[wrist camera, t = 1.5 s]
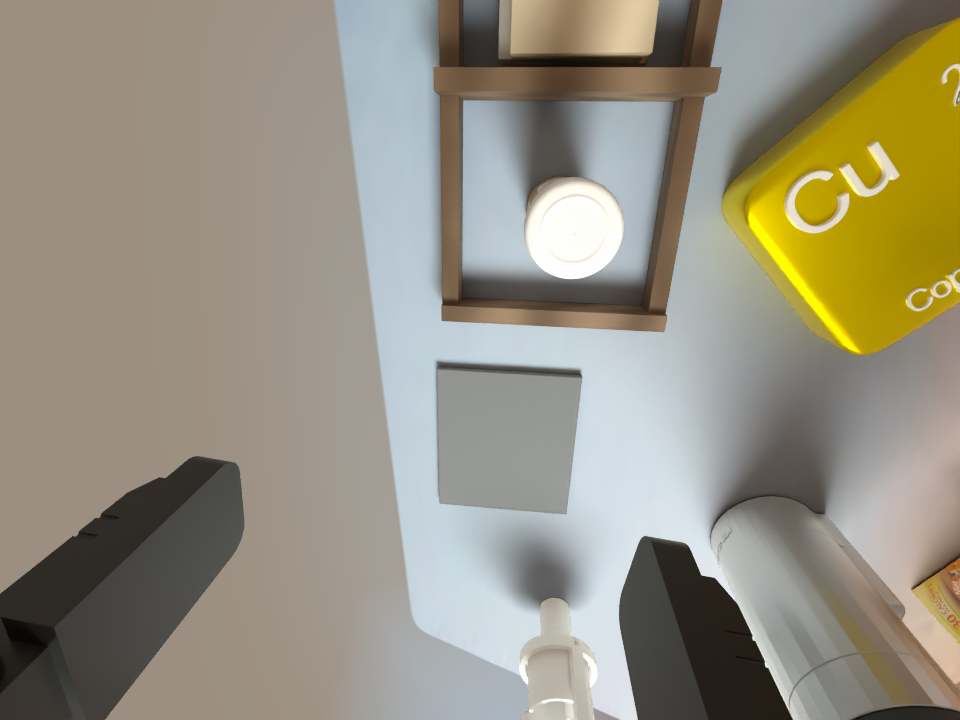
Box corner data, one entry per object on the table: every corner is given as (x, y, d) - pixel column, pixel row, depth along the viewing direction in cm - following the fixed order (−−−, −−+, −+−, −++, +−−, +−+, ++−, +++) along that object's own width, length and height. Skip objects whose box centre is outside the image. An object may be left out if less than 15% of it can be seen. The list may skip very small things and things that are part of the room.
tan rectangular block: (651, -17, 28) (671, -47, 24) (641, 67, 30) (657, 52, 26) (503, -13, 29) (498, -42, 25) (501, 68, 30) (496, 53, 27)
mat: (581, 375, 38) (582, 378, 37) (565, 509, 43) (566, 514, 43) (438, 366, 39) (437, 369, 38) (440, 499, 44) (439, 503, 44)
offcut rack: (721, -59, 27) (752, -96, 23) (655, 321, 36) (670, 339, 32) (444, -53, 28) (431, -87, 24) (447, 311, 37) (437, 327, 33)
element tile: (821, 346, 35) (862, 371, 31) (706, 199, 32) (734, 203, 28) (1037, 205, 30) (1123, 211, 26) (926, 15, 27) (1003, -15, 23)
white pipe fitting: (540, 573, 47) (544, 743, 33) (601, 600, 47) (630, 778, 33) (509, 615, 49) (501, 788, 35) (567, 640, 50) (581, 820, 36)
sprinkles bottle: (516, 227, 34) (508, 259, 22) (542, 165, 32) (548, 160, 20) (573, 250, 34) (597, 295, 22) (601, 190, 32) (644, 201, 20)
